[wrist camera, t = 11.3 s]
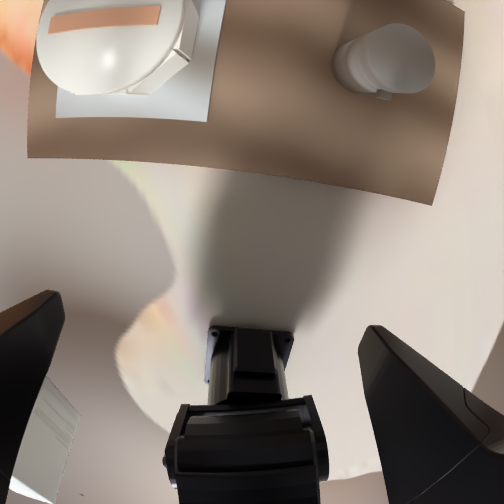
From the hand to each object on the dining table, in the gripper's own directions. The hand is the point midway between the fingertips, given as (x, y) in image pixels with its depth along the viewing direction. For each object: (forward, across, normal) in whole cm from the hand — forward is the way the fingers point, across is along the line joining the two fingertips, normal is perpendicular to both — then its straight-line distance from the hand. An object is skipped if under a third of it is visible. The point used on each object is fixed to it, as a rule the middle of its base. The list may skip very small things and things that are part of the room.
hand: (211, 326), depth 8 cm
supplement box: (+12, +19, +25) cm, 34 cm away
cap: (+10, +6, -9) cm, 15 cm away
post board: (+12, 0, -9) cm, 15 cm away
